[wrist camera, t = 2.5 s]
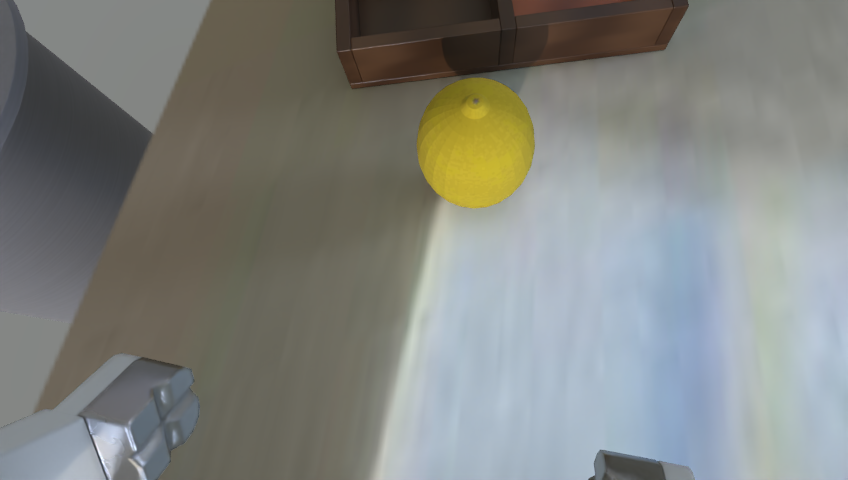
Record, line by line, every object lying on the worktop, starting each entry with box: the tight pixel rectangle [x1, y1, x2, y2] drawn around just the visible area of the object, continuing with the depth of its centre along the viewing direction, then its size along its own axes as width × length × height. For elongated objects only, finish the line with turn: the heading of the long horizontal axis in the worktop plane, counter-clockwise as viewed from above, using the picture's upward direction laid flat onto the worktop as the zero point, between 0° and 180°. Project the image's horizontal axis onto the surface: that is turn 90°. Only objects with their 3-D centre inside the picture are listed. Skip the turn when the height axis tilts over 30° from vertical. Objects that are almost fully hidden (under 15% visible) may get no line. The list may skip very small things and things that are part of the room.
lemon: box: [417, 78, 535, 208], centre depth 24 cm, size 6×6×8 cm
